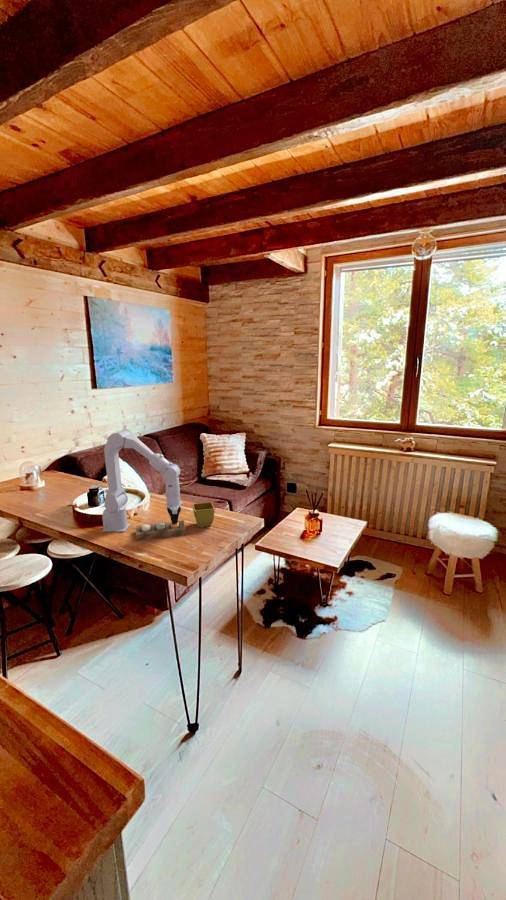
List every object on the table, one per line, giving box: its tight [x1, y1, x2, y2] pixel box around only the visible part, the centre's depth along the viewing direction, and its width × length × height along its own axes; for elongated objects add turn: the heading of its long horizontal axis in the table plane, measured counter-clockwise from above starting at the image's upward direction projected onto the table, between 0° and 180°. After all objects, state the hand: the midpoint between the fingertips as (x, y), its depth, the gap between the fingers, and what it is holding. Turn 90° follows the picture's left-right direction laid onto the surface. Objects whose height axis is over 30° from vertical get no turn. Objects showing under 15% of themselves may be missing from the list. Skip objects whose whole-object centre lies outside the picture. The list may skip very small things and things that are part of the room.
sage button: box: [155, 522, 166, 530], centre depth 161 cm, size 4×4×2 cm
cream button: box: [140, 523, 151, 532], centre depth 159 cm, size 4×4×2 cm
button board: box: [135, 520, 186, 542], centre depth 161 cm, size 20×9×2 cm, turn 105°
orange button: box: [170, 521, 179, 529], centre depth 162 cm, size 4×4×2 cm
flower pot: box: [192, 501, 216, 528], centre depth 168 cm, size 9×9×9 cm
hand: (174, 523), depth 162 cm, fingers closed, pressing on orange button
